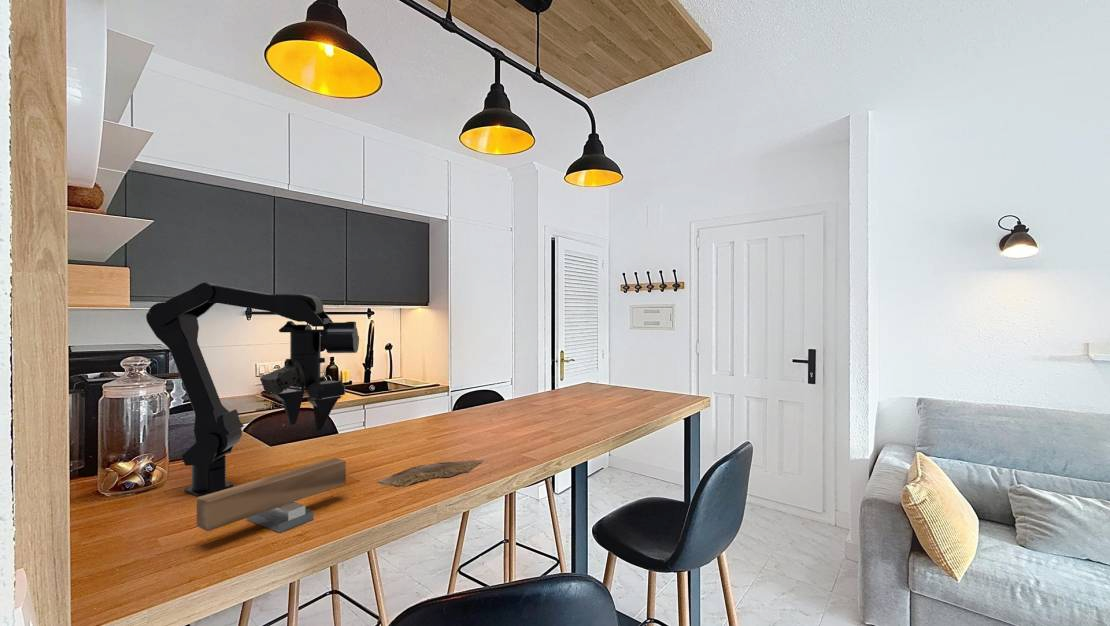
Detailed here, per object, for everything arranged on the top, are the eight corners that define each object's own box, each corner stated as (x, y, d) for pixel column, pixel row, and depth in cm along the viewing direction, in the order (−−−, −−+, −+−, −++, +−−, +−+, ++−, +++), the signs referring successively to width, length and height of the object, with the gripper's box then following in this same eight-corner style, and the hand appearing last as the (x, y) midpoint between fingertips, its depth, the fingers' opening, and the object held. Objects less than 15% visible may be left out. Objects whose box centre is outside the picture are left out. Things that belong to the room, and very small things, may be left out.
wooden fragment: (385, 492, 100) (385, 487, 100) (370, 477, 109) (370, 473, 109) (496, 469, 115) (496, 464, 115) (475, 457, 124) (475, 453, 124)
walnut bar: (196, 526, 76) (196, 497, 76) (334, 480, 97) (334, 457, 97) (207, 531, 75) (207, 502, 75) (345, 483, 95) (345, 460, 95)
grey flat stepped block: (246, 519, 86) (246, 502, 86) (280, 507, 91) (280, 491, 91) (279, 532, 81) (279, 514, 81) (313, 519, 86) (313, 502, 86)
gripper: (241, 354, 101) (241, 429, 102) (294, 359, 92) (295, 442, 92) (293, 350, 111) (293, 419, 111) (346, 354, 102) (346, 429, 102)
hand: (305, 427), depth 104 cm, fingers open, 9 cm apart
